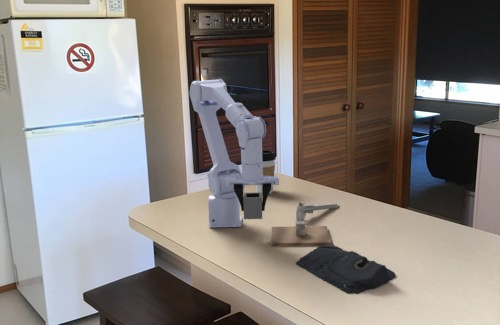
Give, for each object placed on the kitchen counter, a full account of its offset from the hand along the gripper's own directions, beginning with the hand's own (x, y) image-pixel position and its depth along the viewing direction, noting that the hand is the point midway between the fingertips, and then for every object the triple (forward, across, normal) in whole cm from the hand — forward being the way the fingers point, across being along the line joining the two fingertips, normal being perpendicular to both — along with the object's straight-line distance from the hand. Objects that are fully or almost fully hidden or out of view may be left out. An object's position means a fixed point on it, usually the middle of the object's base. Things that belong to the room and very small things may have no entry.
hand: (253, 209), depth 146 cm
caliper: (+9, +20, +19) cm, 29 cm away
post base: (+9, +13, 0) cm, 16 cm away
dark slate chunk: (+9, +22, -21) cm, 32 cm away
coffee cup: (+9, +3, +43) cm, 44 cm away
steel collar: (+2, 0, 0) cm, 2 cm away
